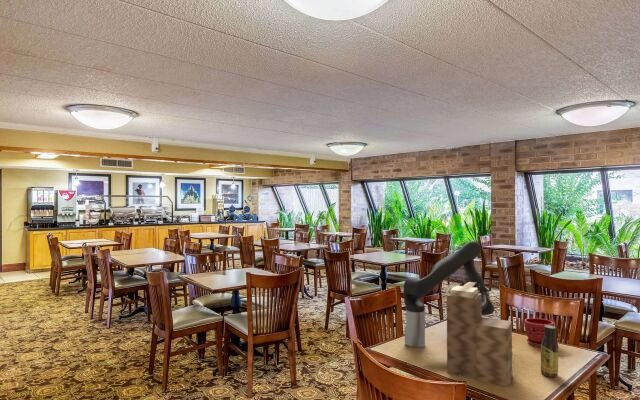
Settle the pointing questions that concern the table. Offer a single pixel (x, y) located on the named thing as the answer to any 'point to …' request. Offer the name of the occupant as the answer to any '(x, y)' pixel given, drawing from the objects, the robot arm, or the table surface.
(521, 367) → the table surface
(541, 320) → the plant pot
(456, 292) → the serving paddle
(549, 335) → the sauce bottle
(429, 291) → the robot arm
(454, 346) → the block
